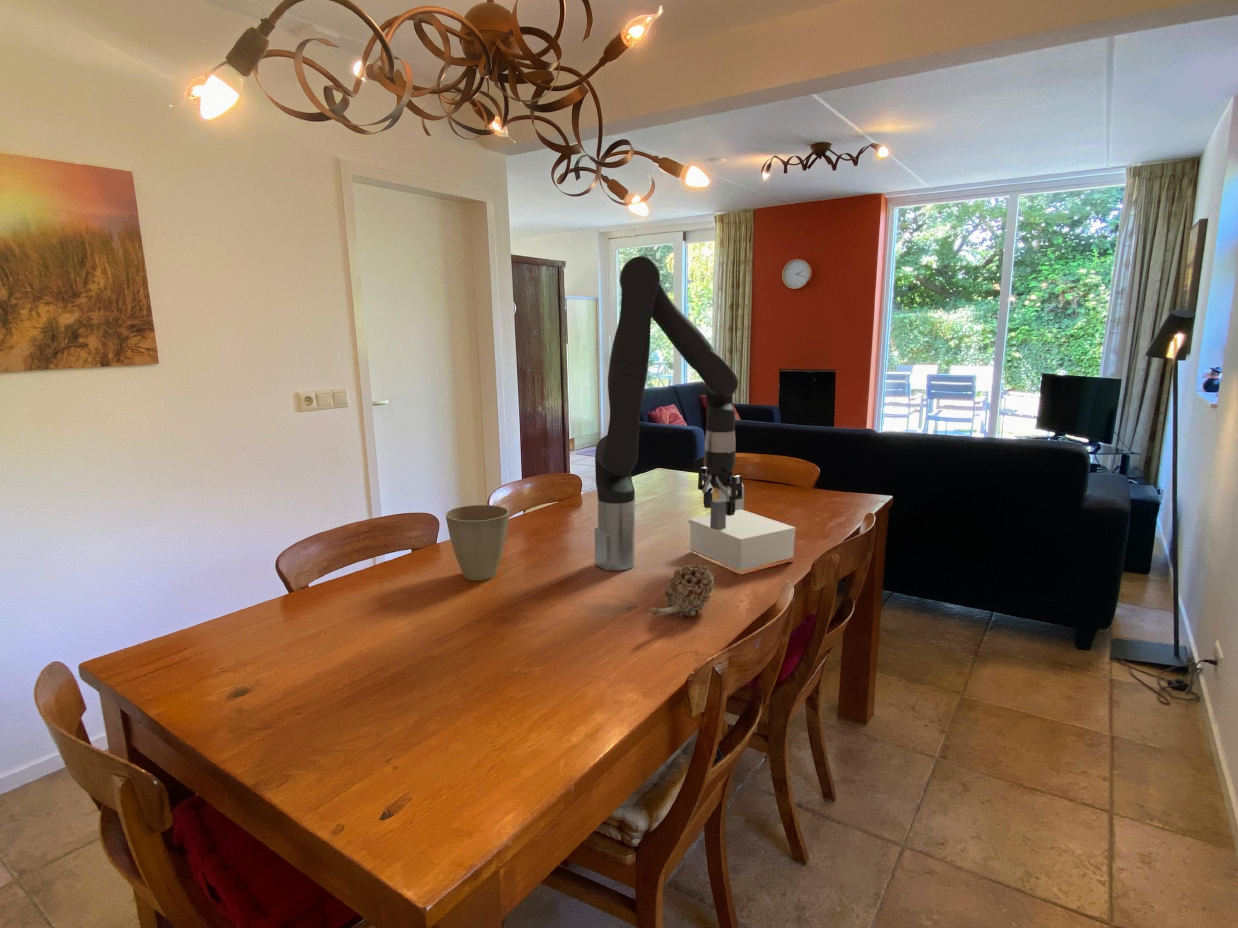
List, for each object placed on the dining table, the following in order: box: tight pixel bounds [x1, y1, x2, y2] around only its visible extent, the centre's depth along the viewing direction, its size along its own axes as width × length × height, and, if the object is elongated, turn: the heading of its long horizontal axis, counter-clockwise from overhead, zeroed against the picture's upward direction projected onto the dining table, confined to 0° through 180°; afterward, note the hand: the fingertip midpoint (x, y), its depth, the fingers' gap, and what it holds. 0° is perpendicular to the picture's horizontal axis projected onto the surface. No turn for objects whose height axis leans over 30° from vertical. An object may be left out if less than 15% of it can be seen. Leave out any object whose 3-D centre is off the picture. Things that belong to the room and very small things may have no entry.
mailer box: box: [689, 524, 796, 571], centre depth 171 cm, size 18×20×8 cm
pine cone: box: [648, 563, 715, 618], centre depth 134 cm, size 22×10×10 cm, turn 150°
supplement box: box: [718, 482, 745, 510], centre depth 202 cm, size 7×7×13 cm
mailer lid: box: [688, 498, 797, 544], centre depth 170 cm, size 18×20×8 cm
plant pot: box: [445, 504, 510, 582], centre depth 158 cm, size 15×15×16 cm
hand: (718, 511), depth 166 cm, fingers open, 8 cm apart
